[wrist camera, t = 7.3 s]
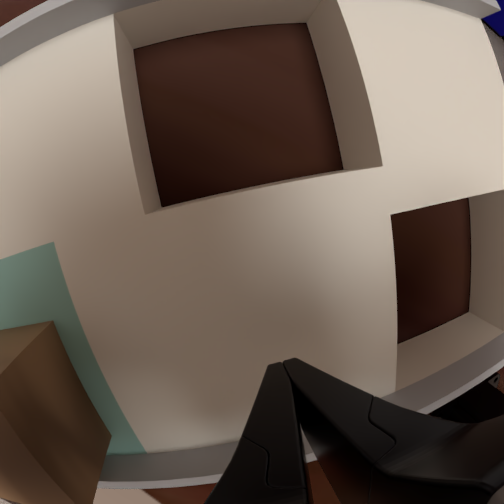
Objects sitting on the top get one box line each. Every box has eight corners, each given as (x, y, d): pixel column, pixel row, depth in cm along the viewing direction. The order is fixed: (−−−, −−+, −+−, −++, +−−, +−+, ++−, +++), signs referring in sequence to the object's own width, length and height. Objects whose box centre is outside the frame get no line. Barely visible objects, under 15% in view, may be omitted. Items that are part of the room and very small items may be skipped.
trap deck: (478, 313, 14) (545, 351, 9) (34, 422, 12) (-2, 488, 7) (441, 28, 11) (510, -6, 5) (-56, 136, 8) (-129, 130, 3)
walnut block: (111, 435, 9) (89, 516, 5) (22, 434, 9) (-11, 493, 5) (53, 320, 8) (-13, 388, 4) (-33, 335, 8) (-91, 383, 4)
